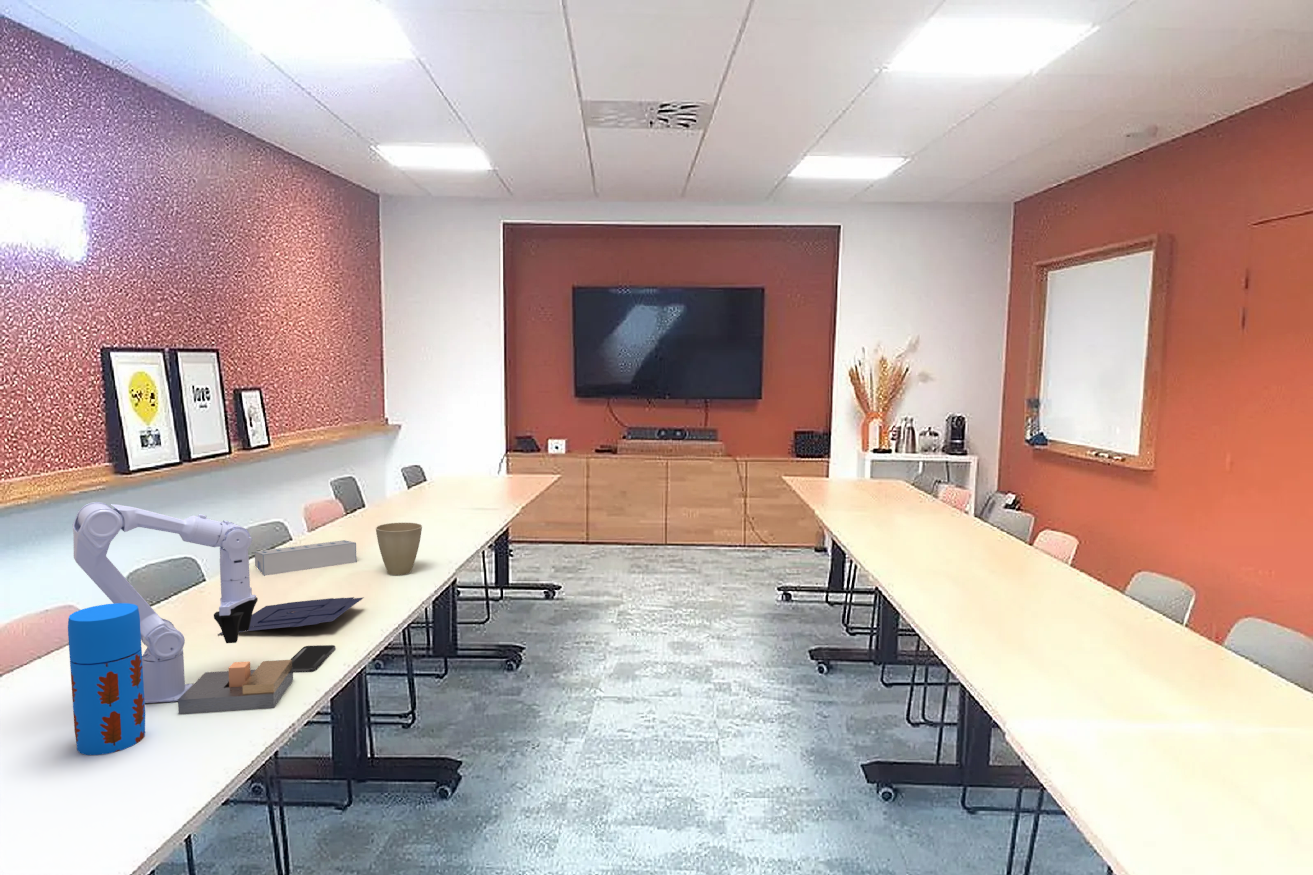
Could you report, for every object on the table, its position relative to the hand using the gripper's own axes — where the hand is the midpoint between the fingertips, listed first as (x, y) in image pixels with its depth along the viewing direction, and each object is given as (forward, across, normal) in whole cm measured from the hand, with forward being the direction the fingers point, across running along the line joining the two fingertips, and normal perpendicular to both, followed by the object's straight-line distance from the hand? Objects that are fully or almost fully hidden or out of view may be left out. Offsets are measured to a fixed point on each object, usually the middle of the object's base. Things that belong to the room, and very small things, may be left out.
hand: (237, 636), depth 173 cm
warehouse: (+10, +100, +11) cm, 101 cm away
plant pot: (+10, +84, -23) cm, 88 cm away
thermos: (+10, -28, +13) cm, 32 cm away
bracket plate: (+9, -11, -4) cm, 15 cm away
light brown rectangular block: (+9, -11, -4) cm, 15 cm away
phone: (+10, +8, -13) cm, 18 cm away
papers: (+10, +38, -2) cm, 39 cm away
